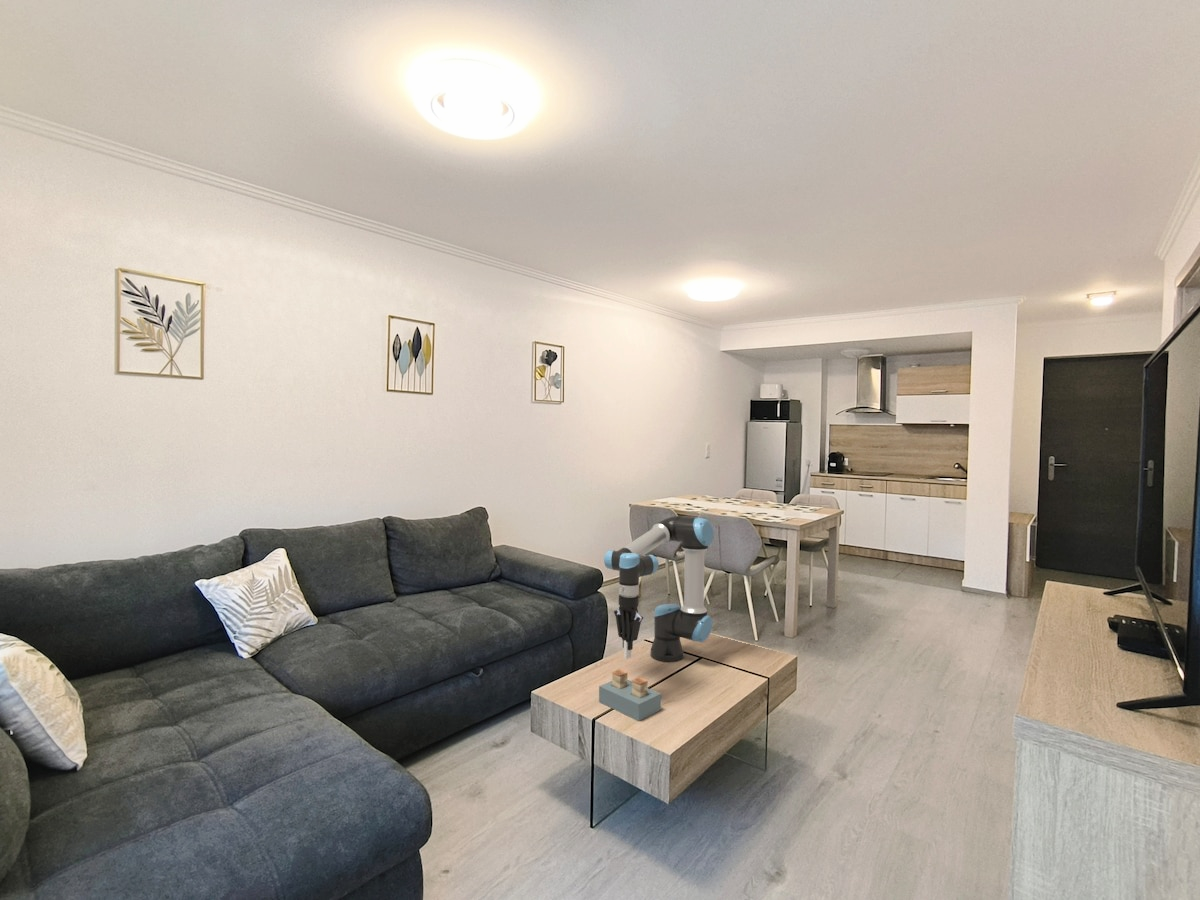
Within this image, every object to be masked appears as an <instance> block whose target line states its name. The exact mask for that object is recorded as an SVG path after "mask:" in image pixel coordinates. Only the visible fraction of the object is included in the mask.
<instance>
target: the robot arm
mask: <svg viewBox="0 0 1200 900" xmlns="http://www.w3.org/2000/svg"><path fill="white" fill-rule="evenodd" d="M713 528H714V527H713V525H712V523H711V521H709V520H708V519H707V518H702V517H695V516H684V515H683V516H682V515H674V516H669V517H667V518H664V519H663V520H660V521H659V522H657V523H655V524H654V525H652V528H651V529H650V530H647V531H646V532H645V533H644V534H642V535H640V536H639V537H638V538H636V539H634V540H632V541H631V542H629V543H628V544H626V545H625V546H623V547H622V548H619V550H608V551H607V552H606V553H605V554H604V557H603V562H604V563H603V564H604V566H605V568H607V569H610V570H612V571H618V572H619V573H618V574H619V578H618V594H619V595H618V608H617V610H614V611H613V613H614V616H615V621H616V622H615V623H616V629H617V635H618V637H619V638H621V639H622V649H623V659H625V660H628V659H630V658H631V659H632V650H633V648H634V646H633V645H634V644H633V643H634V641H637V640H638V638H639V632H640V627H641V623H642V622H643V620H644V616H642V615H641V616H640V614H639V610H638V607H639V599H640V598H639V593H640V578H642V577H646V576H650V575H652V574H654V573H656V572H657V571H658V569H659V561H658V558H657V557H656V556H655V555H653V554H648V553H649V552H651V551H653V550H654V549H655V548H657V547H659V546H660V545H664V544H667V543H668V542H669V543H670V542H678V543H681V549H682V550H683V551H684V579H683V580H684V584H683V585H684V586H683V587H684V588H683V590H684V591H683V592H684V594H683V597H684V599H683V605H682V606H680V604H678V603H665V604H660V605H658V606H656V607H655V609H654V615H653V616H654V619H653V620H654V623H653V625H654V628H653V629H654V635H653V636H654V639H653V642H652V644H651V647H650V657H651V658H652V659H654V660H656V661H660V662H666V663H667V662H668V663H669V662H672V663H673V662H678V661H680V660H682V659H684V657H685V656H684V654H685V653H684V652H685V651H684V649H683V645H682V641H681V638H682V639H686V640H689V641H692V642H698V643H699V642H700V643H703V642H705V641H706V640H707V639H708V638H709V636H710V634H711V632H712V629H713V619H712V617H711V616H710V615H708V609H707V608H706V607H705V553H706V552H707V550H708V549H709V546H711V544H712V543H713V540H714V536H715V535H714V529H713Z"/></svg>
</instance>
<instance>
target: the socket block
mask: <svg viewBox="0 0 1200 900" xmlns="http://www.w3.org/2000/svg"><path fill="white" fill-rule="evenodd" d="M598 703H600V704H602V705H605V706H607V707H608V708H610V709H613V710H615V711H616V712H618V713H621V714H624V716H627V717H628V718H631V719H633V720H635V721H637V722H640V721H642V720H644V719H646V718H648V717H651V716H652V715H654V714H655V713H657V712H660V711H661V710H662V693H660V692H658V691H656V690H654V689H650V688H648V690H647V696H645V697H642V698H638V697H636V696H633V695H632V680H630V679H627V687H625V688H623V689H618V688H615V687H613V686H612V680H611V681H608V682H606V683H603V684H601V685H599V686H598Z"/></svg>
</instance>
